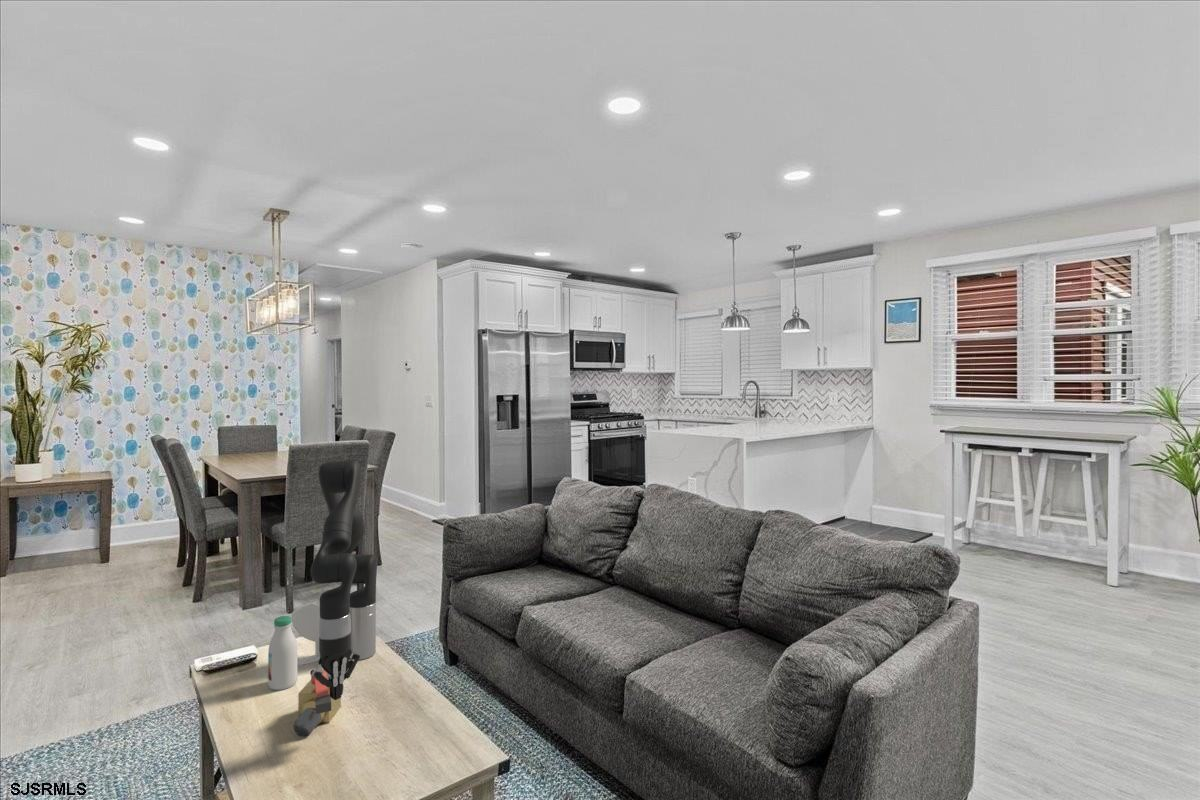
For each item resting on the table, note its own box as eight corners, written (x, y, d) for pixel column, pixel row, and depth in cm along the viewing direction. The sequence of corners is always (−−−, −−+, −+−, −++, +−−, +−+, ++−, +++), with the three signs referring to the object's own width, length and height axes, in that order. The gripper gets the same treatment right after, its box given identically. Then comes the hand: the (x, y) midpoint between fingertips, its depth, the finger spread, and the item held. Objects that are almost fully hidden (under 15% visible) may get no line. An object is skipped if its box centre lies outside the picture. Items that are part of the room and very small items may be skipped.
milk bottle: (302, 678, 185) (302, 614, 184) (287, 691, 177) (287, 624, 177) (278, 677, 186) (278, 612, 185) (262, 690, 178) (262, 622, 177)
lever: (310, 679, 166) (310, 671, 166) (328, 675, 168) (328, 668, 168) (313, 714, 148) (313, 705, 148) (333, 710, 150) (333, 701, 150)
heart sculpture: (341, 648, 206) (341, 596, 206) (345, 653, 202) (345, 600, 202) (291, 660, 197) (291, 605, 196) (294, 666, 193) (294, 610, 192)
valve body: (320, 696, 175) (320, 665, 175) (348, 695, 175) (348, 665, 175) (287, 736, 155) (287, 701, 155) (319, 735, 155) (319, 701, 155)
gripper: (349, 619, 162) (350, 683, 163) (302, 637, 151) (303, 705, 152) (367, 626, 158) (367, 691, 159) (319, 645, 147) (320, 714, 148)
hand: (336, 698), depth 155 cm, fingers closed
